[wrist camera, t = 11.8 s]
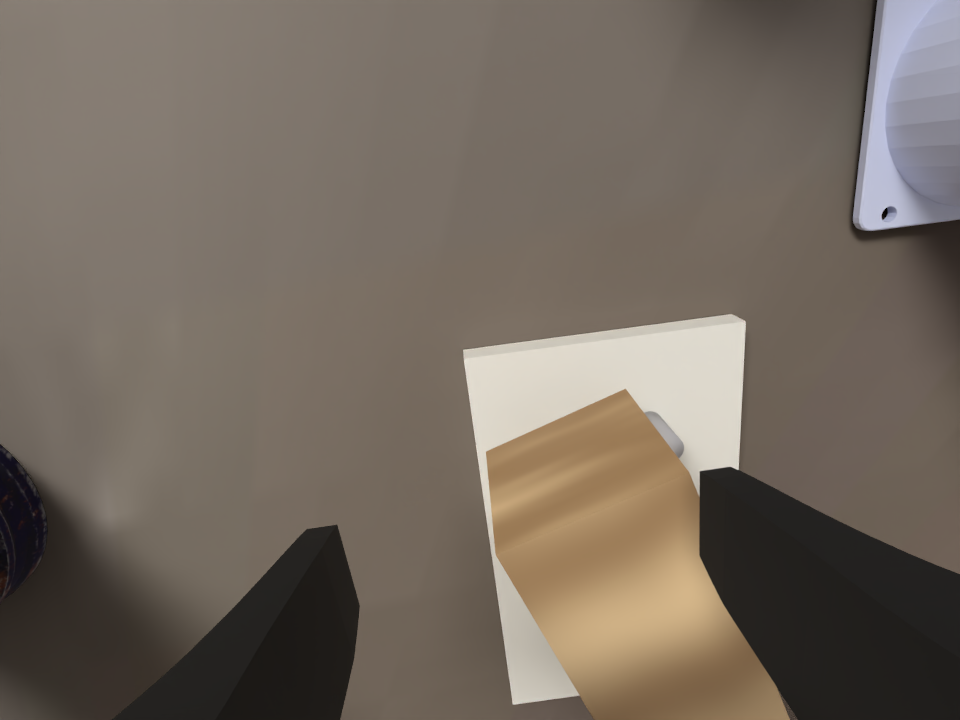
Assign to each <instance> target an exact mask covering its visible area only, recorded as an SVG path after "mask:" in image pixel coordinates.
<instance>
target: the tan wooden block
mask: <svg viewBox="0 0 960 720" xmlns="http://www.w3.org/2000/svg"><path fill="white" fill-rule="evenodd" d="M486 459H487V470H488V480H489V491H490V501H491V512H492V523H493V533H494V544H495V554H496V556H497V558H498V560H499V561H500V563H501V565H502V566H503V568H504V570H505V571H506V573H507V575H508V576H509V578H510V580H511V581H512V583H513V585H514V587H515V588H516V590H517V592H518V593H519V595H520V597H521V598H522V600H523V602H524V603H525V605H526V607H527V608H528V610H529V612H530V613H531V615H532V617H533V618H534V620H535V622H536V623H537V625H538V627H539V628H540V630H541V632H542V633H543V635H544V637H545V638H546V640H547V642H548V643H549V645H550V647H551V648H552V650H553V652H554V653H555V655H556V657H557V658H558V660H559V662H560V663H561V665H562V667H563V668H564V670H565V672H566V674H567V675H568V677H569V679H570V680H571V682H572V684H573V685H574V687H575V689H576V690H577V692H578V694H579V695H580V697H581V699H582V700H583V702H584V704H585V705H586V707H587V709H588V710H589V712H590V714H591V715H592V717H593V719H594V720H790V719H789V716H788V714H787V711H786V709H785V706H784V704H783V702H782V699H781V697H780V694H779V692H778V689H777V687H776V685H775V683H774V682H773V680H772V679H771V677H770V676H769V674H768V673H767V671H766V670H765V668H764V667H763V665H762V664H761V662H760V661H759V659H758V658H757V656H756V654H755V653H754V651H753V650H752V648H751V647H750V645H749V644H748V642H747V641H746V639H745V638H744V636H743V634H742V633H741V631H740V630H739V628H738V627H737V625H736V624H735V622H734V620H733V619H732V617H731V616H730V614H729V613H728V611H727V609H726V608H725V606H724V605H723V603H722V601H721V599H720V597H719V595H718V593H717V591H716V589H715V587H714V585H713V583H712V581H711V579H710V577H709V575H708V573H707V571H706V569H705V566H704V564H703V562H702V560H701V558H700V556H699V512H700V497H699V495H698V493H697V490H696V488H695V485H694V483H693V480H692V478H691V475H690V473H689V471H688V470H687V469H686V467H685V466H684V465H683V463H682V462H681V461H680V460H679V458H678V457H677V456H676V454H675V453H674V452H673V450H672V449H671V448H670V446H669V445H668V444H667V442H666V441H665V440H664V438H663V437H662V436H661V435H660V433H659V432H658V431H657V429H656V428H655V427H654V425H653V424H652V423H651V421H650V420H649V419H648V417H647V416H646V415H645V414H644V412H643V411H642V410H641V408H640V407H639V406H638V404H637V403H636V402H635V400H634V399H633V398H632V396H631V395H630V394H629V392H628V391H627V390H626V389H624V390H621V391H619V392H617V393H615V394H613V395H610V396H608V397H606V398H604V399H601V400H599V401H597V402H595V403H593V404H590V405H588V406H586V407H584V408H582V409H579V410H577V411H575V412H573V413H570V414H568V415H566V416H564V417H562V418H559V419H557V420H555V421H553V422H550V423H548V424H546V425H544V426H542V427H539V428H537V429H535V430H533V431H531V432H528V433H526V434H524V435H522V436H519V437H517V438H515V439H513V440H511V441H508V442H506V443H504V444H502V445H499V446H497V447H495V448H493V449H491V450H488V451H486Z"/></svg>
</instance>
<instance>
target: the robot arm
mask: <svg viewBox="0 0 960 720" xmlns="http://www.w3.org/2000/svg"><path fill="white" fill-rule="evenodd" d="M886 208H887V209H888V214H887V216H886V218H885V219H884V220H882V216H881V215H882V212H883V211H884V210H885V209H886ZM959 219H960V0H877V8H876V17H875V26H874V35H873V43H872V52H871V61H870V70H869V79H868V88H867V97H866V105H865V114H864V123H863V132H862V141H861V150H860V159H859V167H858V176H857V185H856V194H855V203H854V212H853V223H854V225H855V227H856V228H858V229H860V230H865V231H876V230H884V229H891V228H899V227H906V226H914V225H921V224H929V223H937V222H944V221H952V220H959ZM699 556H700V558H701V560H702V562H703V564H704V566H705V569H706V571H707V573H708V575H709V577H710V579H711V581H712V583H713V585H714V587H715V589H716V591H717V593H718V595H719V597H720V599H721V601H722V603H723V605H724V606H725V608H726V609H727V611H728V613H729V614H730V616H731V617H732V619H733V620H734V622H735V624H736V625H737V627H738V628H739V630H740V631H741V633H742V634H743V636H744V638H745V639H746V641H747V642H748V644H749V645H750V647H751V648H752V650H753V651H754V653H755V654H756V656H757V658H758V659H759V661H760V662H761V664H762V665H763V667H764V668H765V670H766V671H767V673H768V674H769V676H770V677H771V679H772V680H773V682H774V683H775V685H776V687H777V688H778V690H779V691H780V693H781V694H782V696H783V697H784V699H785V700H786V702H787V703H788V705H789V706H790V708H791V709H792V711H793V712H794V714H795V716H796V717H797V719H798V720H960V574H958V573H955V572H952V571H950V570H947V569H945V568H942V567H940V566H937V565H934V564H932V563H930V562H927V561H925V560H923V559H920V558H918V557H915V556H913V555H911V554H908V553H906V552H904V551H902V550H899V549H897V548H895V547H893V546H891V545H888V544H886V543H884V542H882V541H880V540H877V539H875V538H873V537H871V536H868V535H866V534H864V533H862V532H860V531H858V530H856V529H854V528H852V527H850V526H847V525H845V524H843V523H841V522H839V521H837V520H835V519H833V518H831V517H829V516H827V515H825V514H823V513H821V512H819V511H817V510H815V509H813V508H811V507H809V506H807V505H806V504H804V503H802V502H800V501H798V500H796V499H794V498H792V497H790V496H788V495H786V494H784V493H782V492H781V491H779V490H777V489H775V488H773V487H771V486H769V485H767V484H765V483H763V482H761V481H759V480H757V479H755V478H753V477H751V476H749V475H747V474H745V473H743V472H741V471H739V470H737V469H735V468H732V467H724V468H718V469H711V470H704V471H700V512H699ZM359 607H360V605H359V602H358V598H357V594H356V591H355V587H354V584H353V580H352V576H351V573H350V569H349V566H348V562H347V558H346V555H345V551H344V548H343V544H342V540H341V537H340V533H339V530H338V526H337V525H333V526H326V527H319V528H312V529H307V530H306V531H305V532H304V533H303V534H302V535H301V536H300V537H299V538H298V539H297V540H296V541H295V542H294V543H293V544H292V545H291V546H290V547H289V548H288V549H287V551H286V552H285V553H284V554H283V555H282V556H281V557H280V558H279V559H278V560H277V562H276V563H275V564H274V565H273V566H272V567H271V568H270V569H269V570H268V571H267V573H266V574H265V575H264V576H263V577H262V578H261V579H260V580H259V581H258V582H257V583H256V584H255V585H254V587H253V588H252V589H251V590H250V591H249V592H248V593H247V594H246V595H245V596H244V597H243V598H242V599H241V600H240V602H239V603H238V604H237V605H236V606H235V607H234V608H233V609H232V610H231V611H230V612H229V613H228V614H227V615H226V616H225V617H224V618H223V619H222V620H221V621H220V622H219V623H218V624H217V625H216V626H215V627H214V628H213V629H212V630H211V631H210V632H209V633H208V634H207V635H206V636H205V637H204V638H203V639H202V640H201V641H200V642H199V643H198V644H197V645H196V646H195V647H194V648H193V649H192V650H191V651H190V652H189V653H188V654H187V655H186V656H184V657H183V658H182V659H181V660H180V661H179V662H178V663H177V664H176V665H175V666H174V667H173V668H171V669H170V670H169V671H168V672H167V673H166V674H165V675H164V676H163V677H162V678H160V679H159V680H158V681H157V682H156V683H155V684H154V685H152V686H151V687H150V688H149V689H148V690H147V691H145V692H144V693H143V694H142V695H141V696H140V697H138V698H137V699H136V700H135V701H134V702H133V703H131V704H130V705H129V706H128V707H127V708H126V709H124V710H123V711H122V712H121V713H120V714H118V715H117V716H116V717H115V718H114V719H112V720H340V717H341V713H342V709H343V705H344V700H345V696H346V692H347V687H348V683H349V678H350V674H351V669H352V665H353V660H354V654H355V645H356V637H357V628H358V618H359Z"/></svg>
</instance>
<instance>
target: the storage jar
mask: <svg viewBox="0 0 960 720" xmlns="http://www.w3.org/2000/svg"><path fill="white" fill-rule="evenodd" d="M46 540H47V522H46V514H45V511H44V508H43V504H42V501H41V498H40V496H39V494H38V492H37V490H36V488H35V486H34V484H33V482H32V481H31V479H30V478H29V476H28V475H27V473H26V472H25V471H24V469H23V468H22V466H21V465H20V464H19V463H18V462H17V461H16V460H15V459H14V458H13V456H12V455H11V454H10V453H9V452H8V451H7V450H6V449H5V448H3V447H2V446H1V445H0V604H1V602H2V601H3V599H4V598H6V597H7V596H9V595H10V594H12V593H13V592H14V591H15V590H16V589H17V588H18V587H19V586H20V585H22V584H23V583H24V582H25V581H26V579H27V578H28V577H29V576H30V575H31V574H32V573H33V572H34V571H35V569H36V567H37V566H38V564H39V563H40V561H41V559H42V556H43V553H44V550H45V547H46Z"/></svg>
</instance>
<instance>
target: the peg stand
mask: <svg viewBox="0 0 960 720" xmlns="http://www.w3.org/2000/svg"><path fill="white" fill-rule="evenodd" d="M745 328H746V321H744V320H742V319H740V318H738V317H736V316H734V315H732V314H729V315H722V316H714V317H707V318H699V319H692V320H684V321H677V322H669V323H662V324H654V325H646V326H639V327H631V328H624V329H616V330H609V331H601V332H594V333H586V334H579V335H571V336H564V337H556V338H549V339H541V340H534V341H526V342H519V343H511V344H504V345H496V346H488V347H481V348H473V349H466V350H463V353H464V363H465V370H466V377H467V384H468V392H469V399H470V406H471V413H472V420H473V427H474V434H475V441H476V448H477V455H478V462H479V469H480V476H481V483H482V490H483V497H484V504H485V511H486V518H487V525H488V532H489V539H490V546H491V553H492V560H493V567H494V574H495V581H496V589H497V596H498V603H499V610H500V617H501V624H502V631H503V638H504V645H505V652H506V659H507V666H508V673H509V680H510V687H511V694H512V701H513V705H514V704H521V703H529V702H536V701H543V700H551V699H558V698H565V697H573V696H580V695H579V694H578V692H577V690H576V689H575V687H574V685H573V684H572V682H571V680H570V679H569V677H568V675H567V674H566V672H565V670H564V668H563V667H562V665H561V663H560V662H559V660H558V658H557V657H556V655H555V653H554V652H553V650H552V648H551V647H550V645H549V643H548V642H547V640H546V638H545V637H544V635H543V633H542V632H541V630H540V628H539V627H538V625H537V623H536V622H535V620H534V618H533V617H532V615H531V613H530V612H529V610H528V608H527V607H526V605H525V603H524V602H523V600H522V598H521V597H520V595H519V593H518V592H517V590H516V588H515V587H514V585H513V583H512V581H511V580H510V578H509V576H508V575H507V573H506V571H505V570H504V568H503V566H502V565H501V563H500V561H499V560H498V558H497V556H496V554H495V544H494V533H493V523H492V512H491V501H490V491H489V480H488V470H487V459H486V451H488V450H491V449H493V448H495V447H497V446H499V445H502V444H504V443H506V442H508V441H511V440H513V439H515V438H517V437H519V436H522V435H524V434H526V433H528V432H531V431H533V430H535V429H537V428H539V427H542V426H544V425H546V424H548V423H550V422H553V421H555V420H557V419H559V418H562V417H564V416H566V415H568V414H570V413H573V412H575V411H577V410H579V409H582V408H584V407H586V406H588V405H590V404H593V403H595V402H597V401H599V400H601V399H604V398H606V397H608V396H610V395H613V394H615V393H617V392H619V391H621V390H624V389H626V390H627V391H628V392H629V394H630V395H631V396H632V398H633V399H634V400H635V402H636V403H637V404H638V406H639V407H640V408H641V410H642V411H643V412H644V414H645V415H646V416H647V417H648V419H649V420H650V421H651V423H652V424H653V425H654V427H655V428H656V429H657V431H658V432H659V433H660V435H661V436H662V437H663V438H664V440H665V441H666V442H667V444H668V445H669V446H670V448H671V449H672V450H673V452H674V453H675V454H676V456H677V457H678V458H679V460H680V461H681V462H682V463H683V465H684V466H685V467H686V469H687V470H688V471H689V473H690V475H691V478H692V480H693V483H694V485H695V488H696V490H697V493H698V495H699V497H700V471H704V470H711V469H718V468H724V467H732V468H735V469H737V470H738V469H739V449H740V429H741V409H742V389H743V368H744V348H745Z"/></svg>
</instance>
